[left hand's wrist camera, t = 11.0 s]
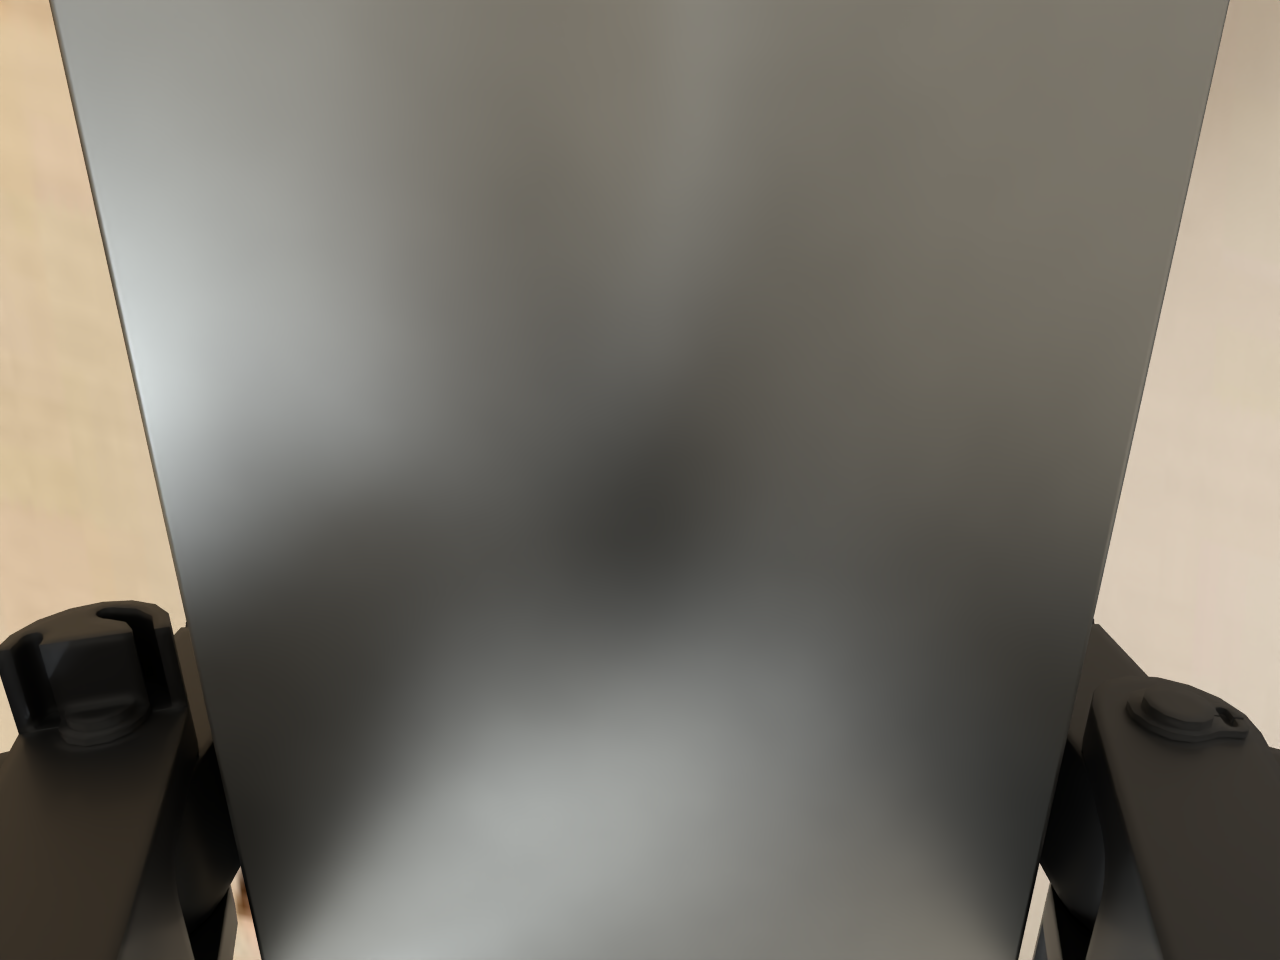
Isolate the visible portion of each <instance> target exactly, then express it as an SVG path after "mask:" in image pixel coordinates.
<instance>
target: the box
mask: <svg viewBox="0 0 1280 960" xmlns="http://www.w3.org/2000/svg"><path fill="white" fill-rule="evenodd" d="M49 3H50V7H51V12H52V16H53V21H54V25H55V30H56V34H57V39H58V43H59V48H60V52H61V57H62V61H63V66H64V70H65V75H66V79H67V84H68V88H69V93H70V97H71V102H72V106H73V111H74V115H75V120H76V124H77V129H78V133H79V138H80V142H81V147H82V151H83V156H84V160H85V165H86V170H87V174H88V179H89V183H90V188H91V192H92V197H93V201H94V206H95V210H96V215H97V219H98V224H99V228H100V233H101V237H102V242H103V246H104V251H105V255H106V260H107V264H108V269H109V273H110V278H111V282H112V287H113V291H114V296H115V300H116V305H117V309H118V314H119V318H120V323H121V327H122V332H123V336H124V341H125V346H126V350H127V355H128V359H129V364H130V368H131V373H132V377H133V382H134V386H135V391H136V395H137V400H138V404H139V409H140V413H141V418H142V422H143V427H144V431H145V436H146V440H147V445H148V449H149V454H150V458H151V463H152V467H153V472H154V476H155V481H156V485H157V490H158V494H159V499H160V503H161V508H162V512H163V517H164V522H165V526H166V531H167V535H168V540H169V544H170V549H171V553H172V558H173V562H174V567H175V571H176V576H177V580H178V585H179V589H180V594H181V598H182V603H183V607H184V612H185V616H186V621H187V625H188V630H189V634H190V639H191V643H192V648H193V652H194V657H195V661H196V666H197V670H198V675H199V679H200V684H201V688H202V693H203V698H204V702H205V707H206V711H207V716H208V720H209V725H210V729H211V734H212V738H213V743H214V747H215V752H216V756H217V761H218V765H219V770H220V774H221V779H222V783H223V788H224V792H225V797H226V801H227V806H228V810H229V815H230V819H231V824H232V828H233V833H234V837H235V842H236V846H237V851H238V855H239V860H240V864H241V869H242V874H243V878H244V883H245V887H246V892H247V896H248V901H249V905H250V910H251V914H252V919H253V923H254V928H255V932H256V937H257V941H258V946H259V950H260V955H261V959H262V960H1018V958H1019V953H1020V949H1021V944H1022V940H1023V935H1024V931H1025V926H1026V922H1027V917H1028V912H1029V908H1030V903H1031V899H1032V894H1033V890H1034V885H1035V881H1036V876H1037V872H1038V867H1039V863H1040V858H1041V853H1042V849H1043V844H1044V840H1045V835H1046V831H1047V826H1048V822H1049V817H1050V813H1051V808H1052V804H1053V799H1054V794H1055V790H1056V785H1057V781H1058V776H1059V772H1060V767H1061V763H1062V758H1063V754H1064V749H1065V745H1066V740H1067V735H1068V731H1069V726H1070V722H1071V717H1072V713H1073V708H1074V704H1075V699H1076V695H1077V690H1078V686H1079V681H1080V676H1081V672H1082V667H1083V663H1084V658H1085V654H1086V649H1087V645H1088V640H1089V636H1090V631H1091V626H1092V622H1093V617H1094V613H1095V608H1096V604H1097V599H1098V595H1099V590H1100V586H1101V581H1102V577H1103V572H1104V567H1105V563H1106V558H1107V554H1108V549H1109V545H1110V540H1111V536H1112V531H1113V527H1114V522H1115V518H1116V513H1117V508H1118V504H1119V499H1120V495H1121V490H1122V486H1123V481H1124V477H1125V472H1126V468H1127V463H1128V459H1129V454H1130V449H1131V445H1132V440H1133V436H1134V431H1135V427H1136V422H1137V418H1138V413H1139V409H1140V404H1141V400H1142V395H1143V390H1144V386H1145V381H1146V377H1147V372H1148V368H1149V363H1150V359H1151V354H1152V350H1153V345H1154V340H1155V336H1156V331H1157V327H1158V322H1159V318H1160V313H1161V309H1162V304H1163V300H1164V295H1165V291H1166V286H1167V281H1168V277H1169V272H1170V268H1171V263H1172V259H1173V254H1174V250H1175V245H1176V241H1177V236H1178V232H1179V227H1180V222H1181V218H1182V213H1183V209H1184V204H1185V200H1186V195H1187V191H1188V186H1189V182H1190V177H1191V173H1192V168H1193V163H1194V159H1195V154H1196V150H1197V145H1198V141H1199V136H1200V132H1201V127H1202V123H1203V118H1204V114H1205V109H1206V104H1207V100H1208V95H1209V91H1210V86H1211V82H1212V77H1213V73H1214V68H1215V64H1216V59H1217V54H1218V50H1219V45H1220V41H1221V36H1222V32H1223V27H1224V23H1225V18H1226V14H1227V9H1228V5H1229V0H49Z"/></svg>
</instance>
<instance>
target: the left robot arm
mask: <svg viewBox="0 0 1280 960" xmlns="http://www.w3.org/2000/svg"><path fill="white" fill-rule="evenodd" d="M0 676H1V679H2V682H3V686H4V689H5V692H6V695H7V698H8V701H9V704H10V708H11V711H12V714H13V717H14V720H15V723H16V726H17V729H18V733H19V735H18V737H17V739H16V741H15V742H14V744H13V746H12V748H11V750H10V751H9V752H5V753H0V960H233V954H234V946H235V939H236V932H237V925H238V922H237V915H236V908H235V902H234V898H233V893H232V889H231V885H230V884H231V882H232V881H233V879H234V877H235V875H236V873H237V871H238V870H239V868H240V866H241V864H240V860H239V855H238V851H237V846H236V842H235V837H234V833H233V828H232V824H231V819H230V815H229V810H228V806H227V801H226V797H225V792H224V788H223V783H222V779H221V774H220V770H219V765H218V761H217V756H216V752H215V747H214V743H213V738H212V734H211V729H210V725H209V720H208V716H207V711H206V707H205V702H204V698H203V693H202V688H201V684H200V679H199V675H198V670H197V666H196V661H195V657H194V652H193V648H192V643H191V639H190V634H189V630H188V625H187V622H186V627H181V628H180V629H179V630H178V631H177V633H176V634H175V635H173V630H172V626H171V622H170V617H169V613H167V612H166V611H164V610H163V609H162V608H160V607H159V606H157V605H156V604H151V603H145V602H139V601H133V600H131V601H111V602H100V603H95V604H90V605H86V606H81V607H76V608H71V609H68V610H65V611H62V612H59V613H57V614H54V615H51V616H48V617H45V618H43V619H40V620H37V621H35V622H34V623H32V624H30V625H28V626H26V627H24V628H23V629H21V630H19V631H17V632H15V633H14V634H12V635H10V636H9V637H8V638H7V639H6V640H5V641H4V642H3V643H2V644H1V645H0ZM1040 864H1041V866H1042V868H1043V870H1044V872H1045V873H1046V875H1047V877H1048V879H1049V881H1050V885H1049V889H1048V893H1047V898H1046V902H1045V907H1044V911H1043V915H1042V920H1041V924H1040V929H1039V933H1038V937H1037V942H1036V946H1035V950H1034V955H1033V959H1032V960H1280V749H1276V748H1272V747H1269V746H1268V744H1267V742H1266V741H1265V739H1264V737H1263V735H1262V733H1261V732H1260V731H1259V730H1258V729H1257V728H1256V726H1255V725H1254V724H1253V723H1252V722H1251V721H1250V720H1249V718H1248V717H1247V716H1246V715H1245V714H1243V713H1242V712H1240V711H1239V710H1237V709H1236V708H1234V707H1233V706H1231V705H1230V704H1228V703H1227V702H1225V701H1224V700H1222V699H1221V698H1219V697H1216V696H1214V695H1212V694H1209V693H1207V692H1204V691H1202V690H1200V689H1197V688H1195V687H1193V686H1190V685H1187V684H1183V683H1179V682H1175V681H1170V680H1166V679H1162V678H1158V677H1148V676H1147V675H1146V674H1145V673H1144V672H1143V670H1142V669H1141V668H1140V667H1139V666H1138V665H1137V664H1136V663H1135V662H1134V661H1133V660H1132V659H1131V658H1130V657H1129V656H1128V655H1127V654H1126V653H1125V651H1124V650H1123V649H1122V648H1121V647H1120V646H1119V645H1118V644H1117V643H1116V642H1115V641H1114V640H1113V639H1112V638H1111V637H1110V636H1109V635H1108V633H1107V632H1106V631H1105V630H1104V629H1103V628H1102V627H1101V626H1100V625H1099V624H1094V619H1093V622H1092V626H1091V631H1090V636H1089V640H1088V645H1087V649H1086V654H1085V658H1084V663H1083V667H1082V672H1081V676H1080V681H1079V686H1078V690H1077V695H1076V699H1075V704H1074V708H1073V713H1072V717H1071V722H1070V726H1069V731H1068V735H1067V740H1066V745H1065V749H1064V754H1063V758H1062V763H1061V767H1060V772H1059V776H1058V781H1057V785H1056V790H1055V794H1054V799H1053V804H1052V808H1051V813H1050V817H1049V822H1048V826H1047V831H1046V835H1045V840H1044V844H1043V849H1042V853H1041V858H1040Z"/></svg>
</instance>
